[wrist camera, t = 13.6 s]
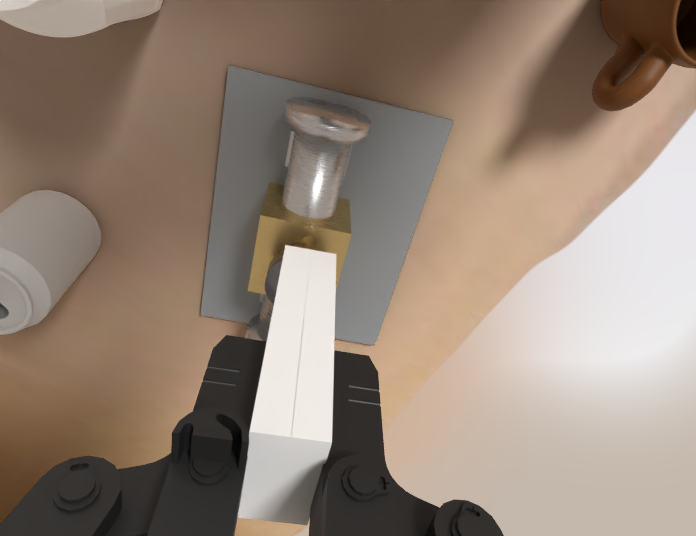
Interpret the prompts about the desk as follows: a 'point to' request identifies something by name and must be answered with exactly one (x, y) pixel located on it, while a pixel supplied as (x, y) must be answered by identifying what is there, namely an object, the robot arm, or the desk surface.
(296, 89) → the mat
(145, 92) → the desk surface
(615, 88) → the mug
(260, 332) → the valve
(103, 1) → the jar
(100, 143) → the desk surface
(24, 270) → the can
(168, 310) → the desk surface
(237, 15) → the desk surface
